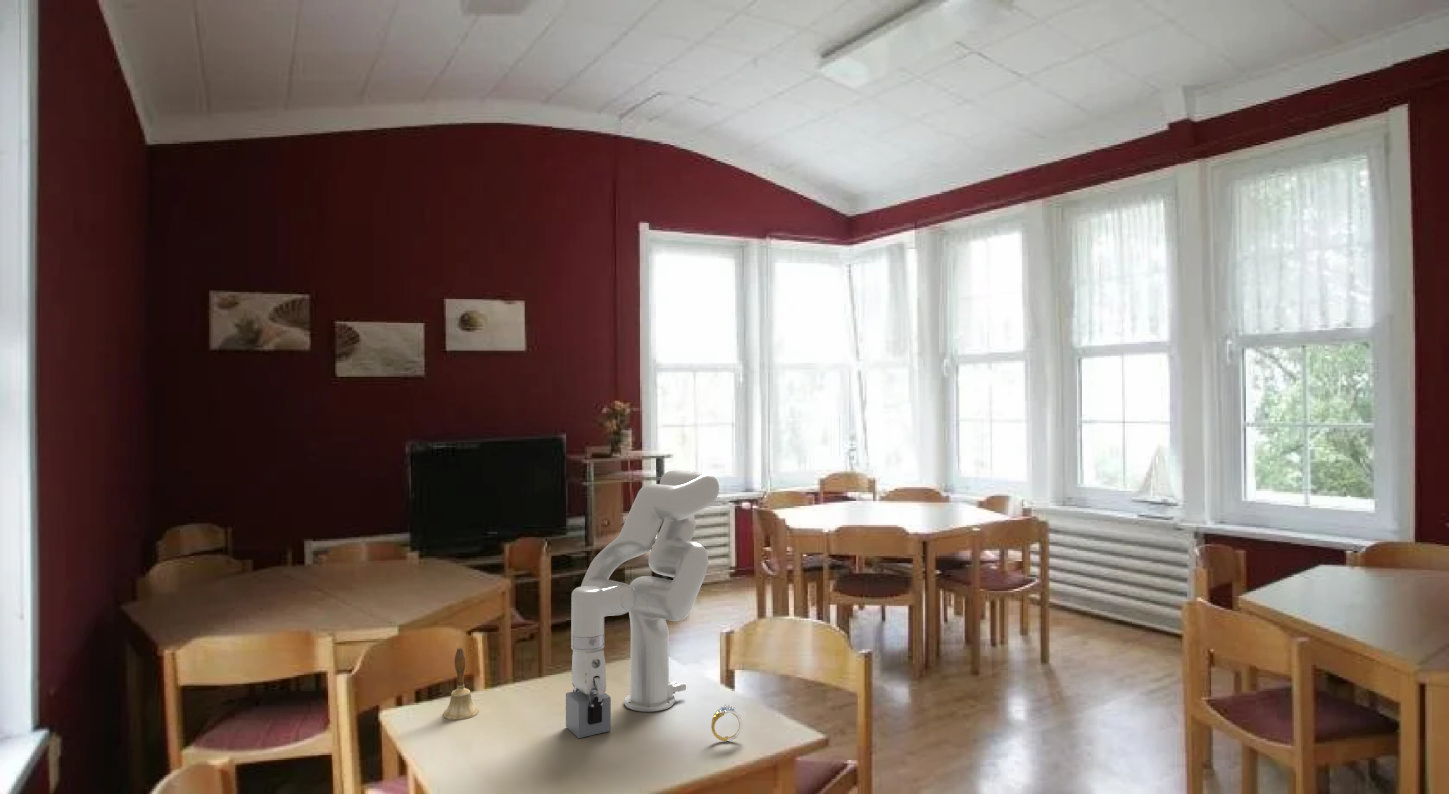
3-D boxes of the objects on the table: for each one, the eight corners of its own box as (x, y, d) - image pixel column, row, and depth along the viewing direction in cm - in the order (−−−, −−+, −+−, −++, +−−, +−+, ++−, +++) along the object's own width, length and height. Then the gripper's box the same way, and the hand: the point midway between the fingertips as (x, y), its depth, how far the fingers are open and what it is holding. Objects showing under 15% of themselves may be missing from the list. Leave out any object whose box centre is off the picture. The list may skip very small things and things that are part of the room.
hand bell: (468, 721, 203) (468, 654, 203) (436, 718, 205) (436, 652, 204) (484, 708, 211) (484, 644, 211) (453, 706, 213) (453, 642, 213)
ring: (742, 738, 193) (742, 703, 193) (742, 744, 190) (742, 708, 190) (711, 739, 193) (711, 703, 193) (711, 744, 190) (711, 708, 190)
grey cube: (597, 719, 203) (596, 686, 203) (610, 730, 197) (610, 697, 197) (565, 726, 199) (565, 693, 199) (578, 738, 193) (578, 703, 192)
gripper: (618, 648, 192) (618, 726, 192) (588, 630, 207) (587, 702, 207) (587, 653, 188) (587, 733, 188) (558, 634, 203) (558, 708, 203)
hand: (587, 716), depth 198 cm, fingers closed on grey cube, 8 cm apart
